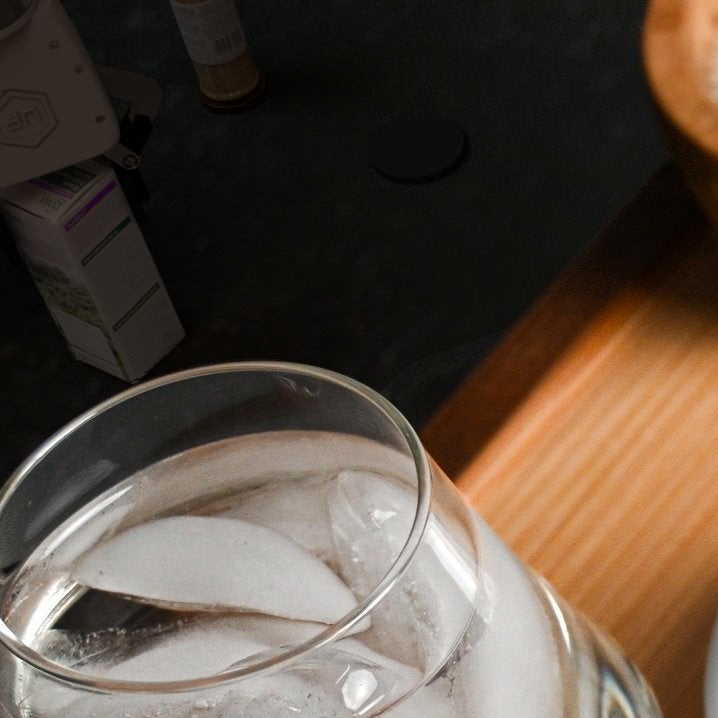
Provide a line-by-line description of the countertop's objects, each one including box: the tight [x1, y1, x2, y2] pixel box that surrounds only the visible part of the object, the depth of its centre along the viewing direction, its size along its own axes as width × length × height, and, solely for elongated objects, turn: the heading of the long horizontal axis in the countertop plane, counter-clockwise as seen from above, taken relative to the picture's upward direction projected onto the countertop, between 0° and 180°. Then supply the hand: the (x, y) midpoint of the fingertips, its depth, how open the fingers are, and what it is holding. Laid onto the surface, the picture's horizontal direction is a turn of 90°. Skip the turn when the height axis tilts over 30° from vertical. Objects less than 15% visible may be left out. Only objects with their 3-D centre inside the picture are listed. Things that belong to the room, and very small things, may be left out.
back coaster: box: [197, 66, 269, 115], centre depth 146 cm, size 5×5×1 cm
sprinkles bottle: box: [168, 0, 259, 101], centre depth 140 cm, size 5×5×13 cm
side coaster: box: [368, 113, 467, 185], centre depth 141 cm, size 7×7×1 cm
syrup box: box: [0, 159, 186, 386], centre depth 126 cm, size 6×6×14 cm
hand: (75, 230), depth 123 cm, fingers closed on syrup box, 7 cm apart
